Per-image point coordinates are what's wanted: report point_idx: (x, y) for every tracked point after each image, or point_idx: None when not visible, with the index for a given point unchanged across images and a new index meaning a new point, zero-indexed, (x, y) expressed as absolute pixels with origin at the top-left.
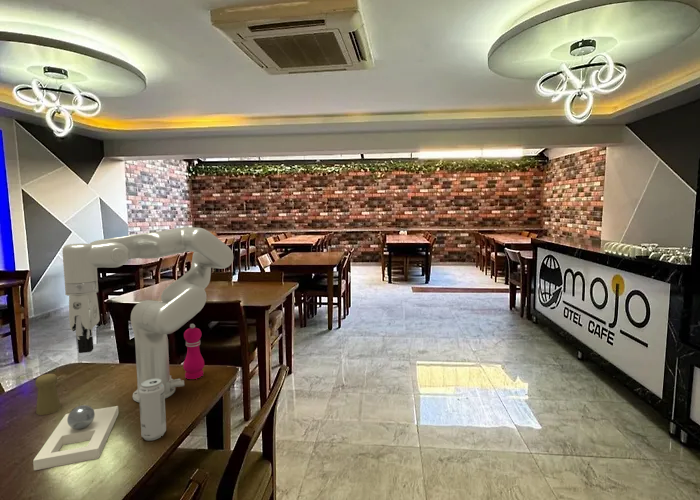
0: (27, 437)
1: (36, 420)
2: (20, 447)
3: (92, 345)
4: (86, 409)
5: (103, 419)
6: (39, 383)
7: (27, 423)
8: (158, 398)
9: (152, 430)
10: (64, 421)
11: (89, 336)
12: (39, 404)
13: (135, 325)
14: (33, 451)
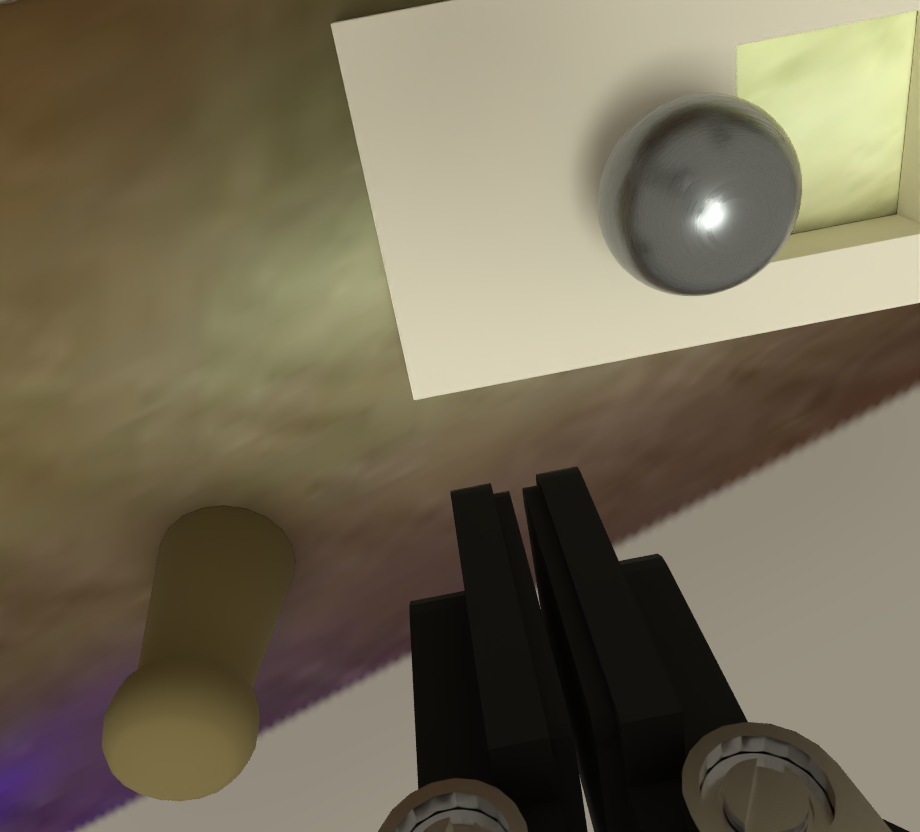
0: None
1: (359, 554)
2: (657, 468)
3: (508, 547)
4: (759, 152)
5: (570, 56)
6: (255, 740)
7: (389, 579)
8: None
9: None
10: (531, 353)
11: (729, 795)
12: (276, 621)
13: None
14: (725, 380)
